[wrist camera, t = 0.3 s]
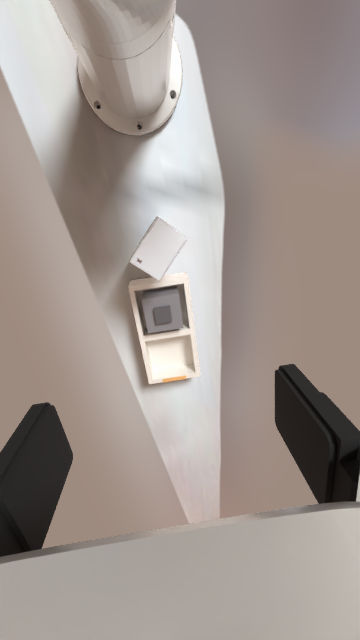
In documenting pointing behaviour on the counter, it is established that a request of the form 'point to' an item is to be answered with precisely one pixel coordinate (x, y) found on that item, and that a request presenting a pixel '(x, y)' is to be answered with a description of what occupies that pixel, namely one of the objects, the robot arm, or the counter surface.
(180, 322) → the grey square block
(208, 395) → the counter surface
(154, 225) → the skincare box
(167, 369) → the cream rectangular tray
